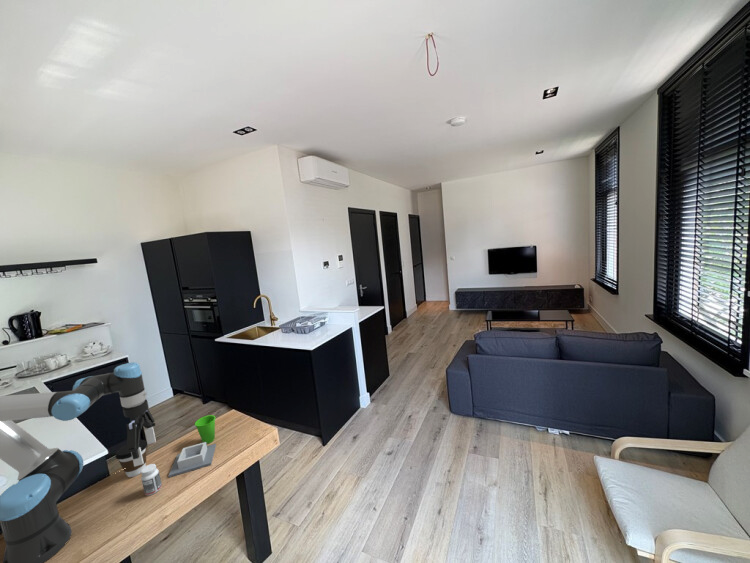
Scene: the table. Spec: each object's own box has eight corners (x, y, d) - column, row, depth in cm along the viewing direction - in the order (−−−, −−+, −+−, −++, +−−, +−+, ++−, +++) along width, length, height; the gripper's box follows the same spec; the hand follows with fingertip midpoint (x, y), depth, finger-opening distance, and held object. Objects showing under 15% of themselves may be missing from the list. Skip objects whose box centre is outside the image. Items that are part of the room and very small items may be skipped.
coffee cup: (154, 469, 132) (149, 444, 130) (123, 486, 124) (116, 459, 122) (148, 459, 139) (143, 435, 138) (118, 474, 131) (112, 449, 130)
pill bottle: (157, 482, 124) (152, 461, 123) (165, 486, 122) (160, 464, 120) (141, 493, 119) (136, 471, 118) (149, 498, 116) (144, 475, 115)
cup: (195, 443, 148) (191, 422, 146) (213, 432, 155) (209, 413, 154) (204, 449, 143) (200, 428, 141) (222, 438, 150) (219, 417, 148)
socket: (168, 477, 126) (166, 468, 126) (177, 456, 139) (176, 447, 139) (211, 465, 131) (209, 455, 131) (216, 445, 145) (214, 437, 144)
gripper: (133, 417, 105) (145, 471, 108) (157, 386, 128) (166, 432, 131) (106, 423, 102) (119, 479, 105) (136, 391, 125) (146, 437, 128)
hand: (145, 453), depth 118 cm, fingers open, 13 cm apart
